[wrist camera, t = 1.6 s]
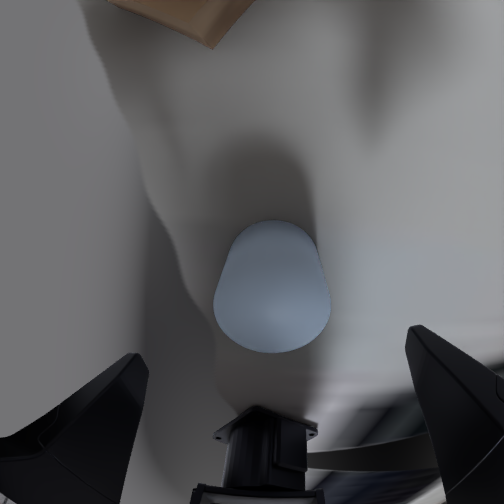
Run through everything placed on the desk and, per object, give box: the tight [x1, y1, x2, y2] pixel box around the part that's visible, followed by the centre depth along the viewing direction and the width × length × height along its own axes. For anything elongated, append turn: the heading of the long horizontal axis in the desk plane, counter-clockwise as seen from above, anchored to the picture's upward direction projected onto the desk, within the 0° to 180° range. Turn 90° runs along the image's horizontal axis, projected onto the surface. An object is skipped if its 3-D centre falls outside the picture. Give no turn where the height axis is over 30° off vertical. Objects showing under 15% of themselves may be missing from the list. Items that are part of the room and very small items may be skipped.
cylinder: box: [213, 220, 331, 353], centre depth 13 cm, size 4×4×4 cm
